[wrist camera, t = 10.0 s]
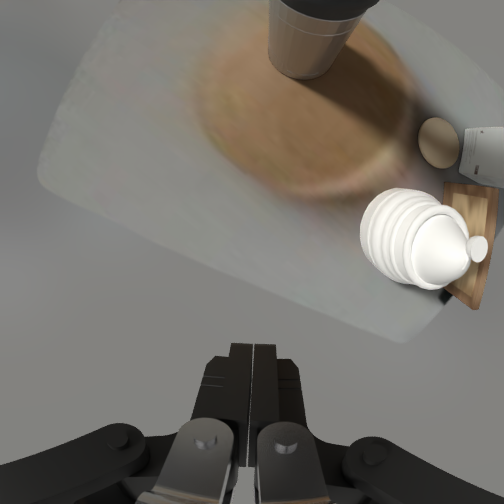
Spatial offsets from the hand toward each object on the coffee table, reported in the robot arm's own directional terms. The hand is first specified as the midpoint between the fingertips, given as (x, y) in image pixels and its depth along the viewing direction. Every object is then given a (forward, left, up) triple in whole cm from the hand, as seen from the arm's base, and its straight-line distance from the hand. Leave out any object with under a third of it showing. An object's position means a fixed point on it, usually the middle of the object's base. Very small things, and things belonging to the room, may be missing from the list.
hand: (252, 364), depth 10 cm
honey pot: (0, +20, -31) cm, 37 cm away
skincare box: (-13, +35, -31) cm, 49 cm away
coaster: (-14, +27, -31) cm, 43 cm away
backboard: (0, +29, -31) cm, 42 cm away
